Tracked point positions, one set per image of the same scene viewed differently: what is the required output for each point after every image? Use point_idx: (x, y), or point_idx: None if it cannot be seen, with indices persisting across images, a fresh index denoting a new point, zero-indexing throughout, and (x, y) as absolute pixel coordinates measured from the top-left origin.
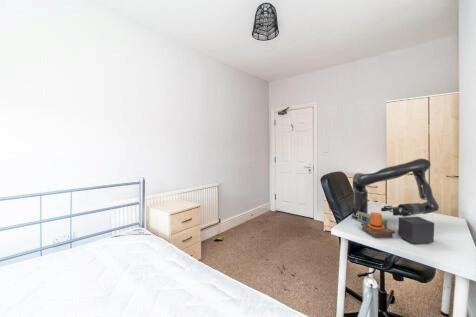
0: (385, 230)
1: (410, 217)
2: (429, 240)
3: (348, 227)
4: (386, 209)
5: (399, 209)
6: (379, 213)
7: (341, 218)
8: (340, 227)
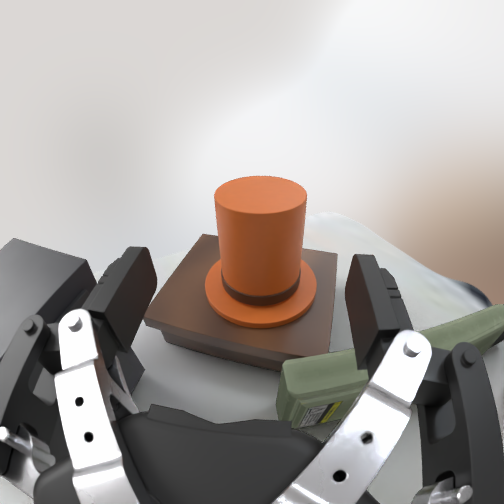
0: (183, 284)
1: (2, 342)
2: None
3: None
4: (365, 347)
5: (94, 383)
6: (256, 208)
7: (481, 292)
8: (363, 233)
